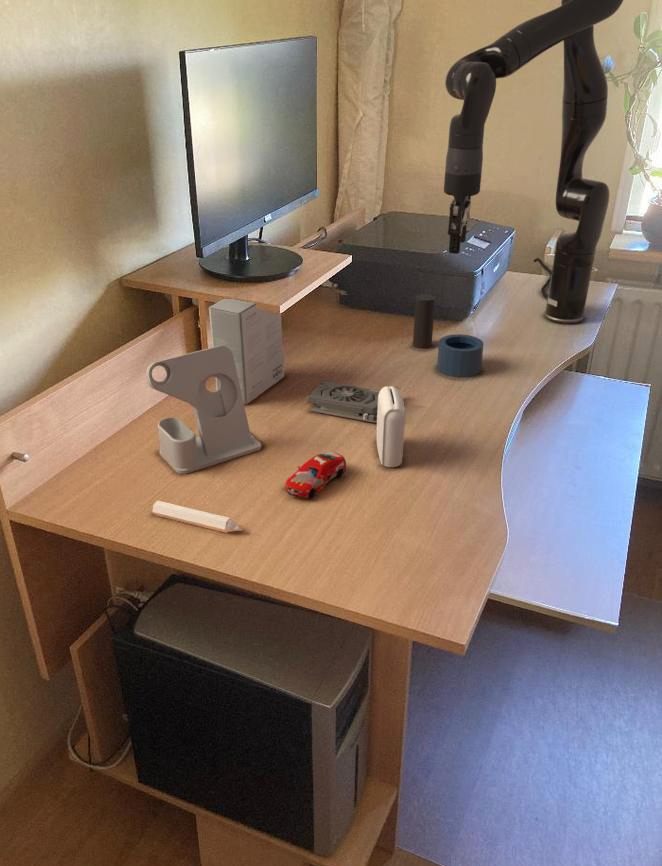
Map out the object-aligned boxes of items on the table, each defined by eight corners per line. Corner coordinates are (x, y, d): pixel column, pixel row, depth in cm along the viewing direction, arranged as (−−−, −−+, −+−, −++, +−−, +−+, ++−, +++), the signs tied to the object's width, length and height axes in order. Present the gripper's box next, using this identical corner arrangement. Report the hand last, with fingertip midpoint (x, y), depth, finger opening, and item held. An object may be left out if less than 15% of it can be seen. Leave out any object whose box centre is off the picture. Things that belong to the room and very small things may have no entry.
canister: (414, 342, 186) (417, 293, 180) (432, 344, 185) (437, 294, 179) (411, 349, 183) (414, 299, 176) (429, 351, 181) (433, 301, 175)
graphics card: (403, 384, 159) (383, 408, 149) (402, 401, 160) (382, 426, 151) (326, 372, 165) (303, 394, 155) (326, 388, 167) (303, 411, 157)
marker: (244, 539, 122) (156, 516, 127) (249, 527, 123) (161, 505, 128) (240, 532, 120) (150, 509, 125) (245, 520, 121) (155, 498, 126)
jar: (440, 359, 177) (442, 332, 174) (482, 364, 175) (486, 336, 171) (433, 376, 170) (435, 348, 166) (477, 381, 167) (481, 353, 164)
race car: (303, 505, 129) (303, 485, 127) (279, 494, 132) (278, 473, 130) (351, 471, 137) (352, 452, 135) (327, 461, 140) (327, 442, 138)
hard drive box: (255, 370, 174) (251, 282, 163) (285, 377, 170) (282, 288, 160) (215, 398, 162) (207, 305, 152) (246, 406, 159) (240, 312, 148)
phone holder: (178, 476, 137) (167, 382, 127) (155, 451, 144) (142, 361, 134) (263, 448, 145) (259, 358, 135) (237, 426, 152) (232, 339, 142)
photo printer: (374, 440, 147) (376, 380, 140) (397, 439, 147) (400, 379, 140) (379, 468, 138) (382, 406, 131) (403, 468, 138) (407, 405, 131)
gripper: (477, 177, 156) (469, 258, 165) (486, 163, 167) (478, 239, 176) (439, 176, 158) (434, 255, 167) (450, 161, 169) (445, 237, 178)
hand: (457, 247), depth 171 cm, fingers open, 8 cm apart
